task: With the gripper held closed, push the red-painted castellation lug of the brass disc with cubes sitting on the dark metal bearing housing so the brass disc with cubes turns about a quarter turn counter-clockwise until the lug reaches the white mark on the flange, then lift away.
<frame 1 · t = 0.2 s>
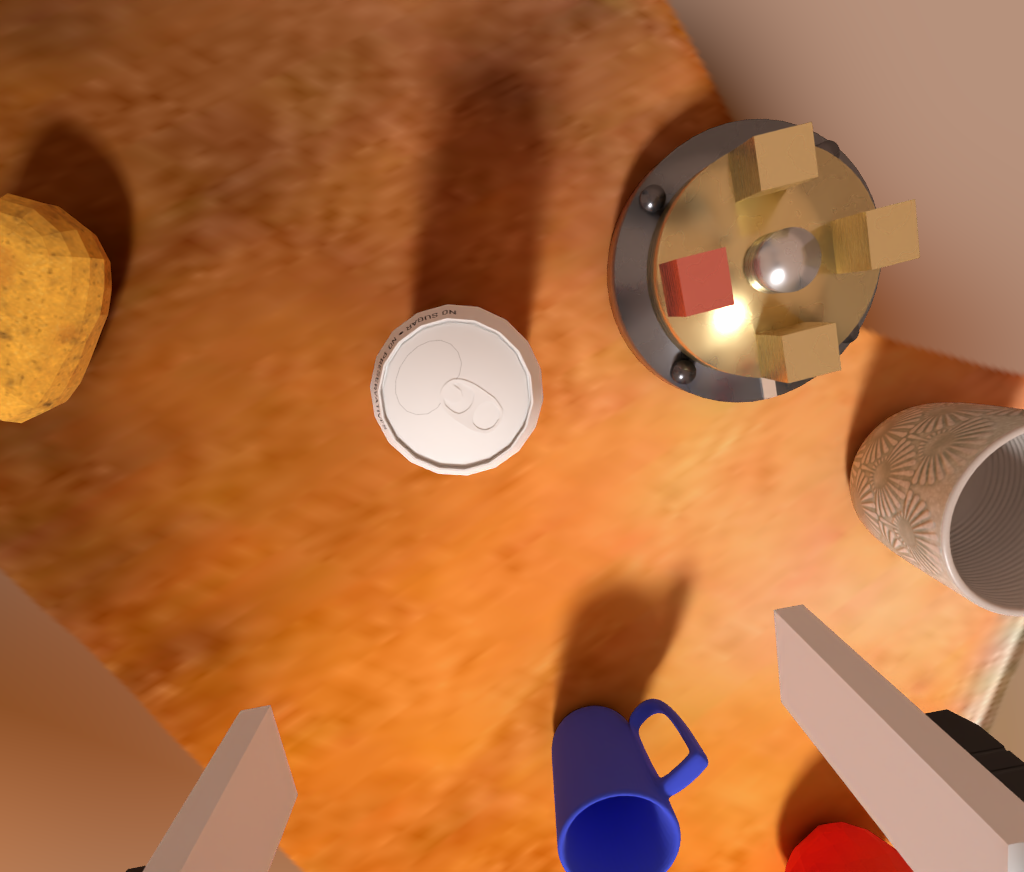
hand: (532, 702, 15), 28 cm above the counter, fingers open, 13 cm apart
housing: (733, 270, 40), on the counter
brass disc with cubes: (773, 263, 34), point 6 cm above the counter, hinge at 0.0°
tomato: (822, 852, 51), on the counter
supplement can: (465, 367, 40), on the counter
mug: (607, 718, 47), on the counter
potato: (69, 314, 38), on the counter
planter: (905, 470, 44), on the counter
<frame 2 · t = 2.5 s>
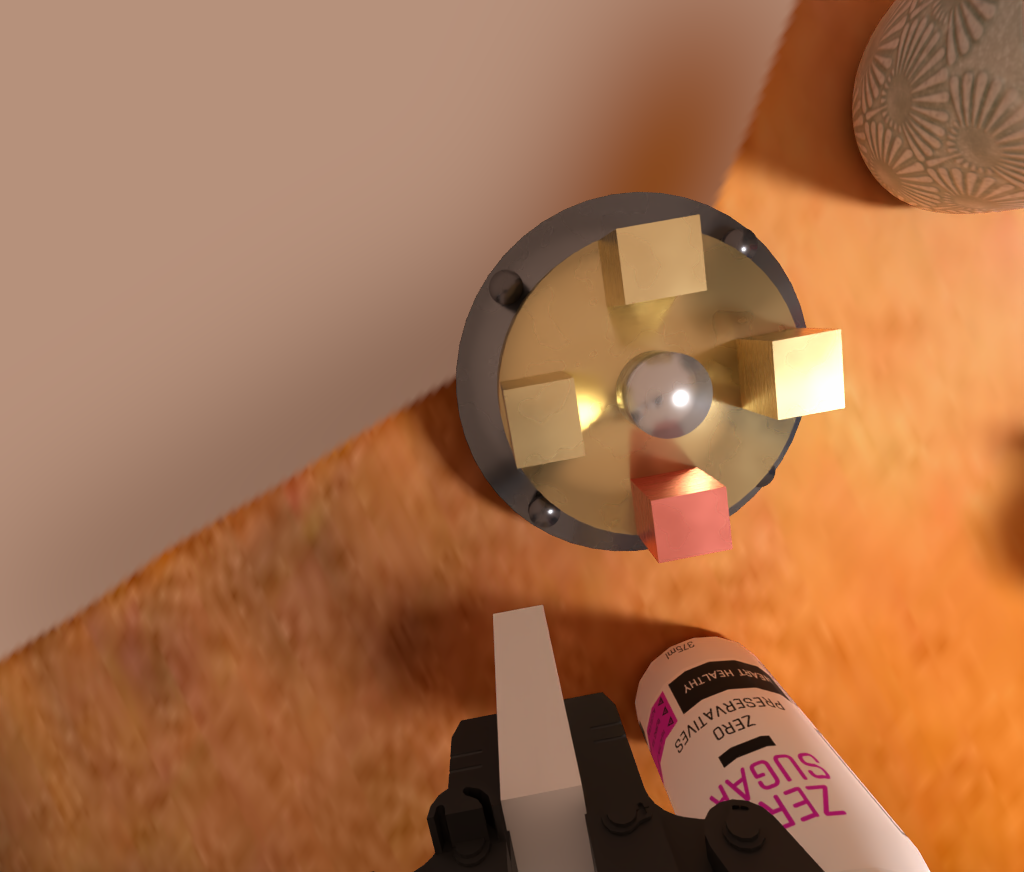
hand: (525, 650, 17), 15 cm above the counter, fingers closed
housing: (623, 378, 31), on the counter
brass disc with cubes: (655, 390, 25), point 6 cm above the counter, hinge at 0.0°
supplement can: (695, 688, 35), on the counter
planter: (934, 106, 29), on the counter
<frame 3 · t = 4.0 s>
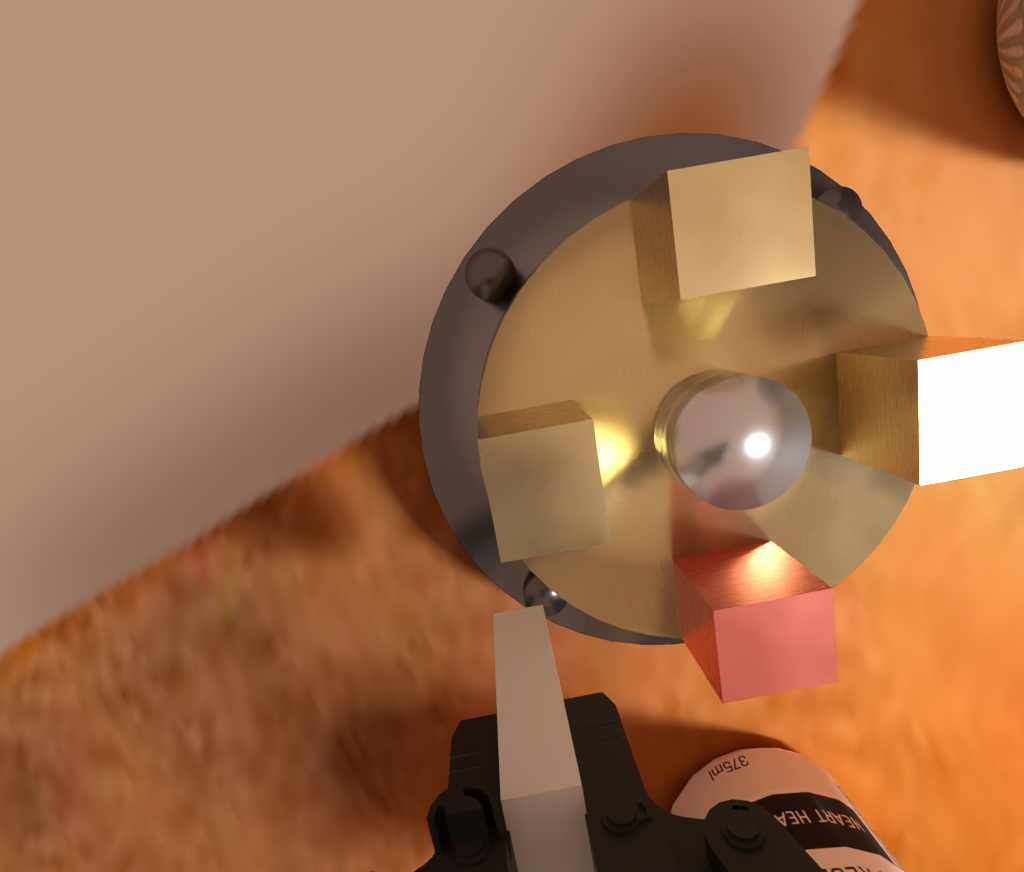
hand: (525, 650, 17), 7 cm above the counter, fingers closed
housing: (656, 402, 22), on the counter
brass disc with cubes: (714, 430, 17), point 6 cm above the counter, hinge at 0.0°
supplement can: (745, 808, 27), on the counter
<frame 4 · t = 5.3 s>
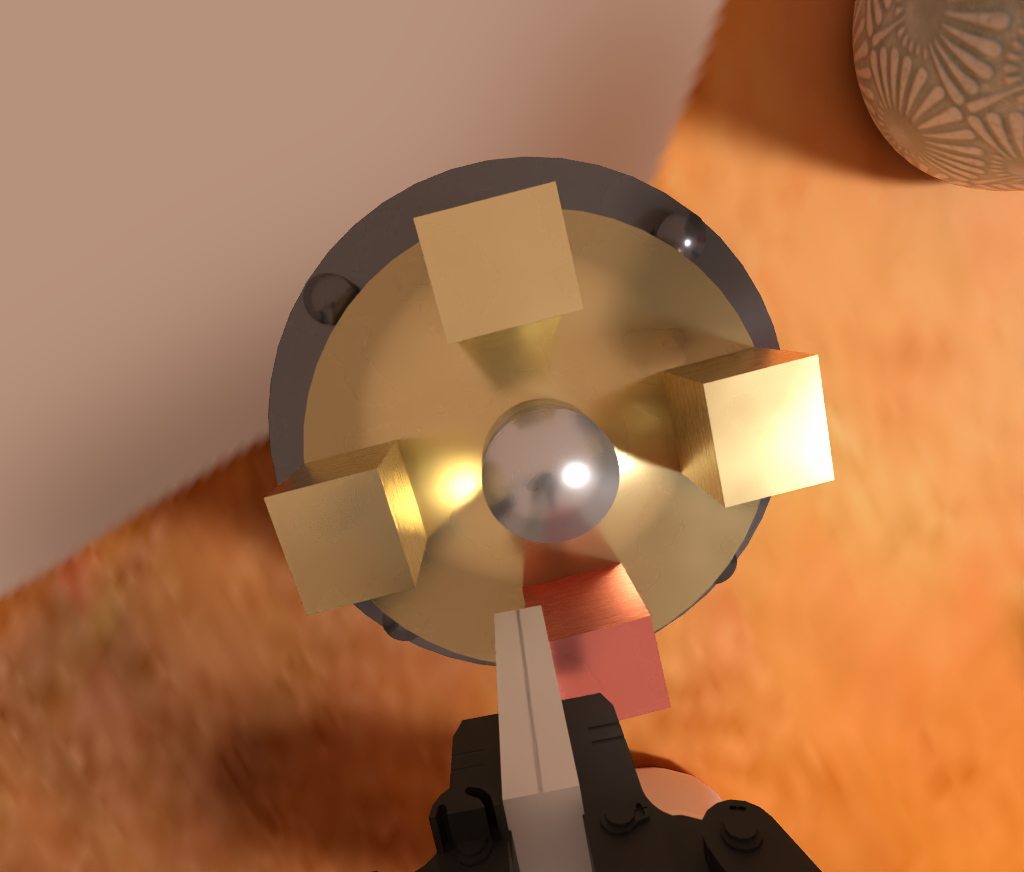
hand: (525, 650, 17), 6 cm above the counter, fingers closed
housing: (528, 423, 22), on the counter
brass disc with cubes: (543, 459, 17), point 6 cm above the counter, hinge at 4.5°, touching gripper
supplement can: (639, 827, 27), on the counter
planter: (974, 34, 20), on the counter
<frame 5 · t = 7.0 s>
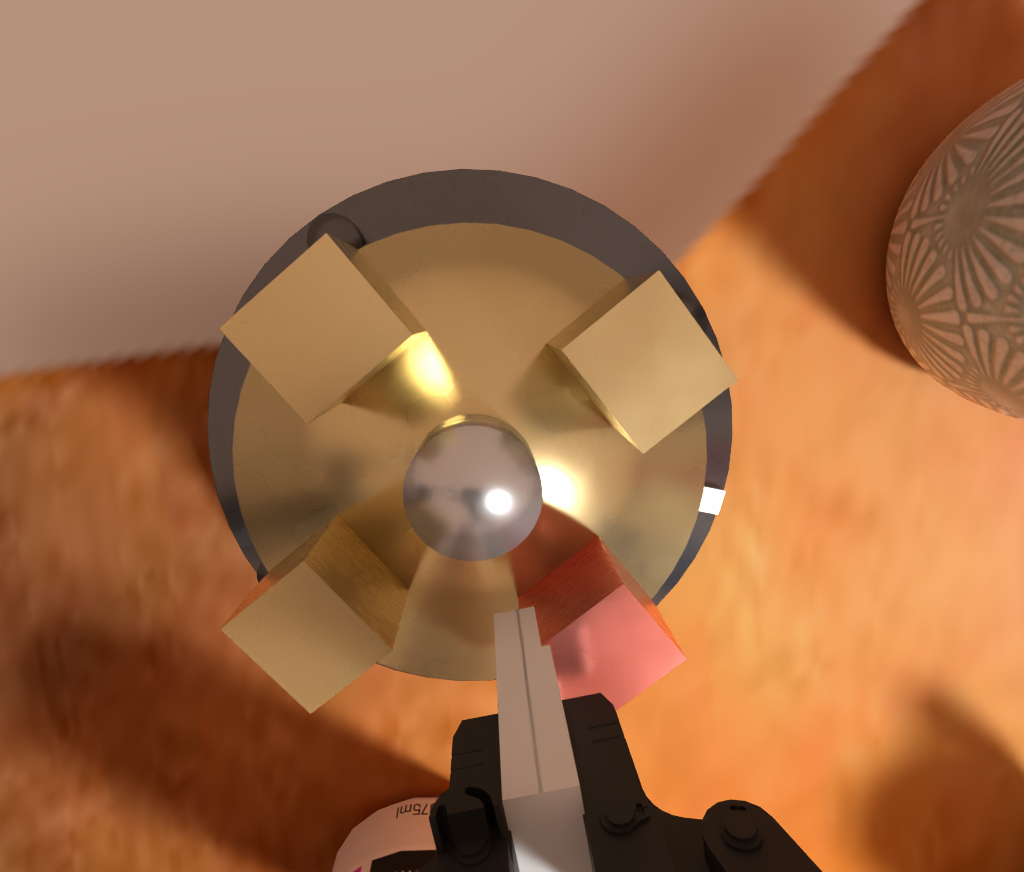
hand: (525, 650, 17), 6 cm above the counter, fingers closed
housing: (476, 435, 22), on the counter
brass disc with cubes: (474, 475, 16), point 6 cm above the counter, hinge at 52.0°, touching gripper
supplement can: (428, 856, 26), on the counter
planter: (997, 256, 22), on the counter
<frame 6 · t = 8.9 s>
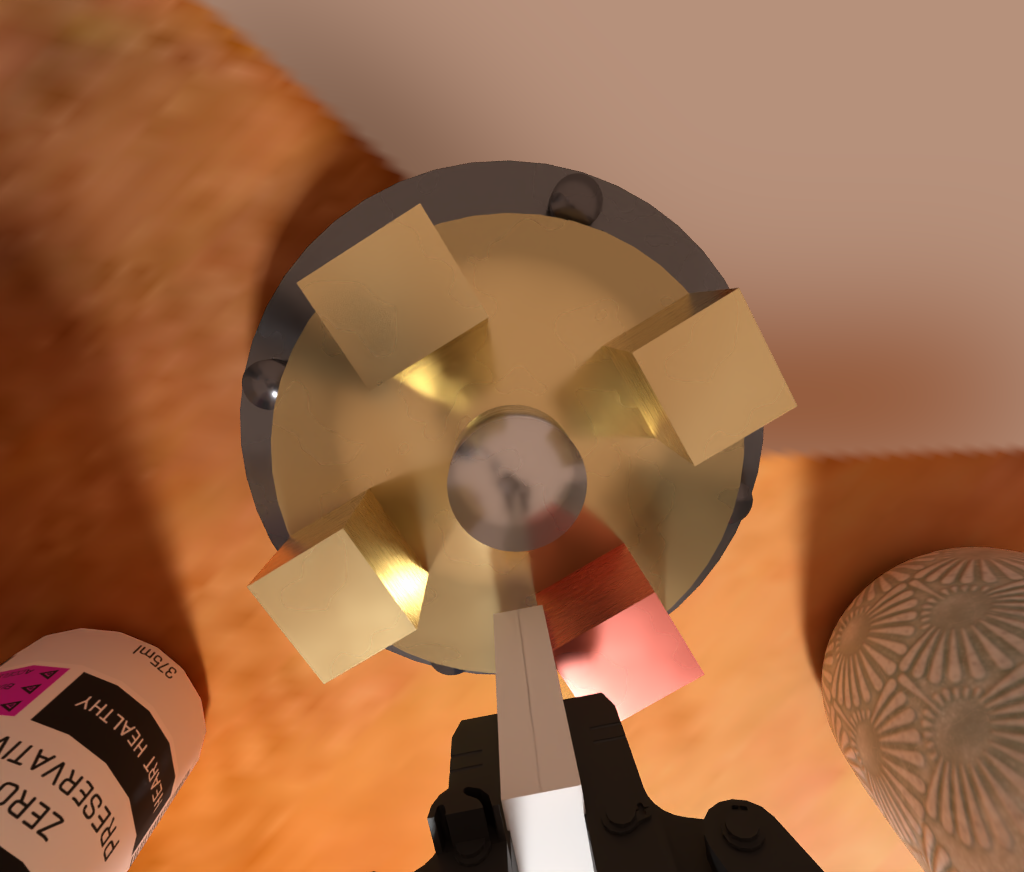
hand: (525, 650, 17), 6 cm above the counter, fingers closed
housing: (505, 428, 22), on the counter
brass disc with cubes: (513, 466, 16), point 6 cm above the counter, hinge at 91.5°, touching gripper
supplement can: (115, 705, 24), on the counter
planter: (920, 647, 25), on the counter
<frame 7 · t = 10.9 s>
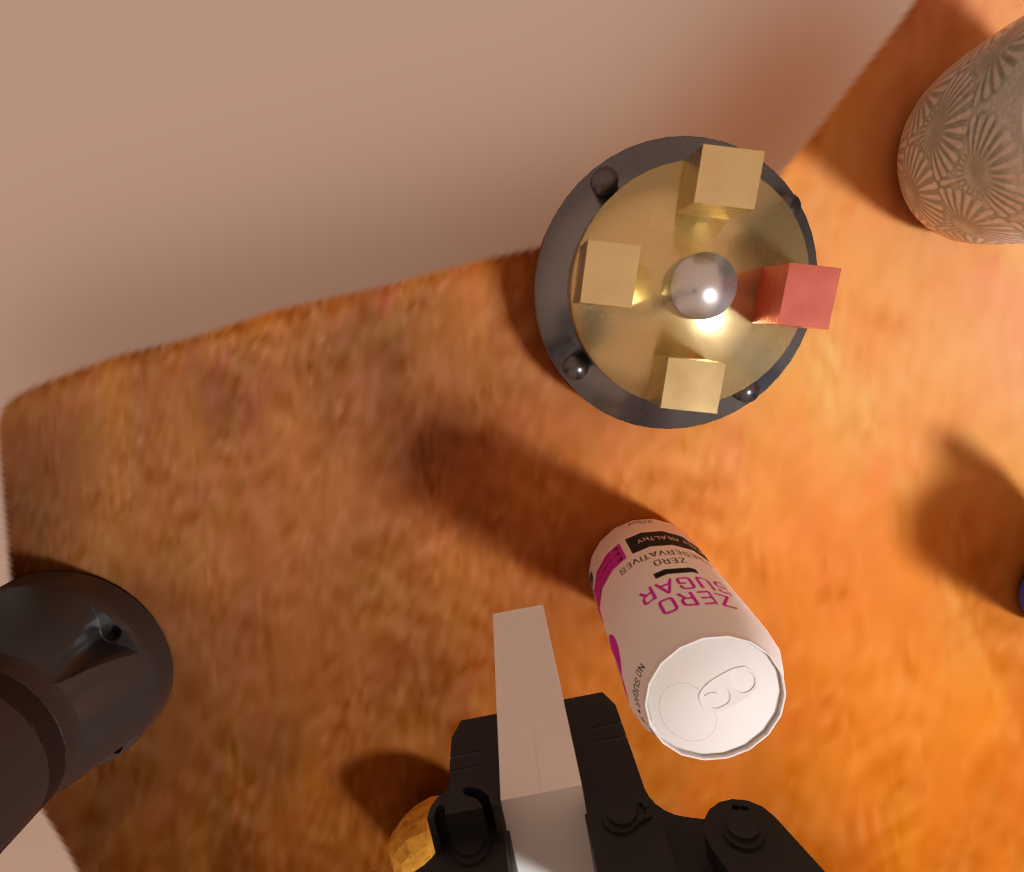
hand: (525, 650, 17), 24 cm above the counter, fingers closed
housing: (665, 291, 38), on the counter
brass disc with cubes: (692, 287, 33), point 6 cm above the counter, hinge at 91.5°
supplement can: (641, 565, 43), on the counter
potato: (471, 826, 47), on the counter
planter: (964, 157, 37), on the counter
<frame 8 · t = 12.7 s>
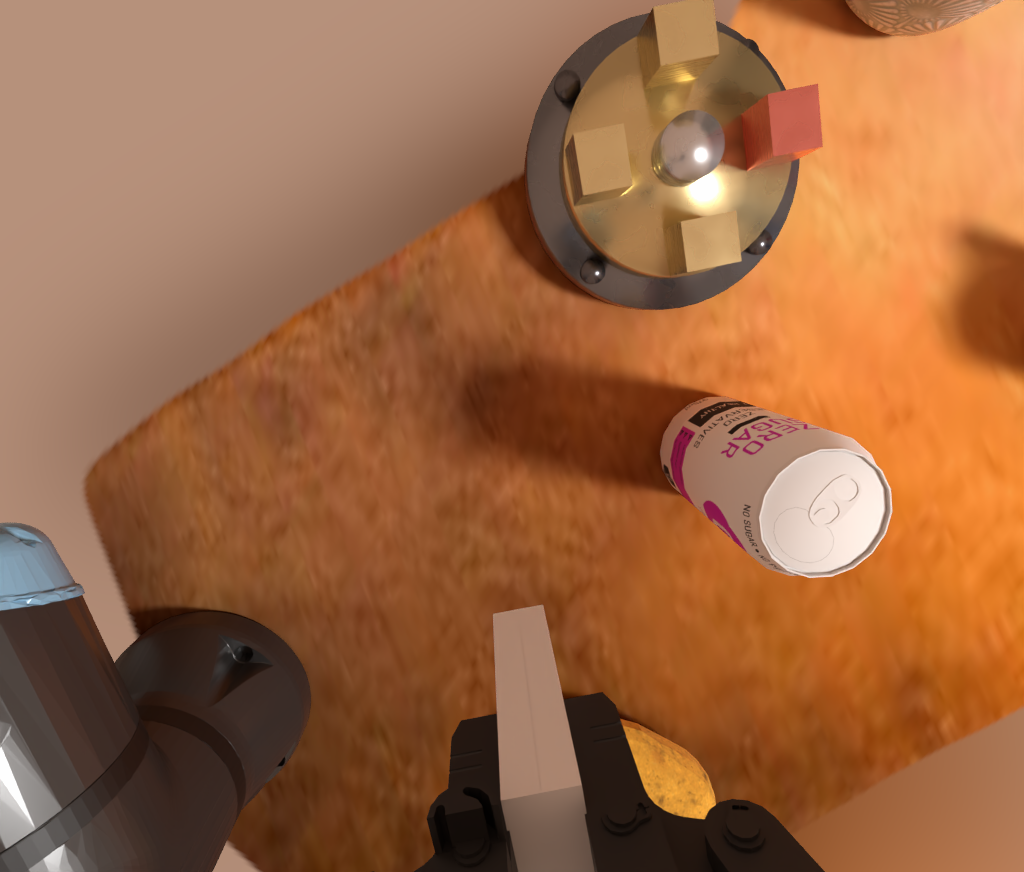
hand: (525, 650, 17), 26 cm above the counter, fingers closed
housing: (653, 177, 39), on the counter
brass disc with cubes: (681, 154, 34), point 6 cm above the counter, hinge at 91.5°
supplement can: (708, 447, 44), on the counter
potato: (623, 744, 49), on the counter
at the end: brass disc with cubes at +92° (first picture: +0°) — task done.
